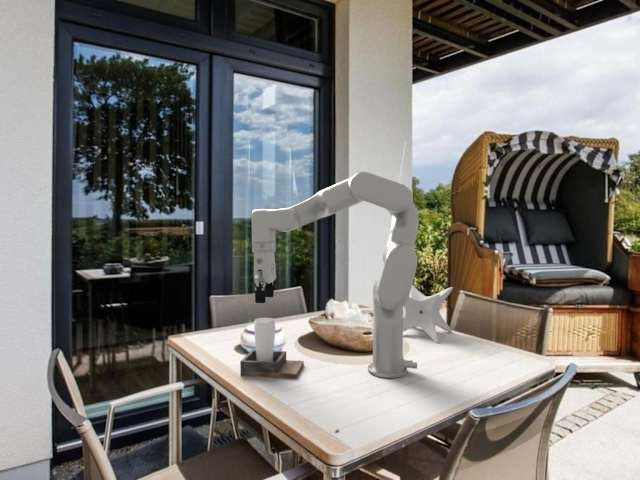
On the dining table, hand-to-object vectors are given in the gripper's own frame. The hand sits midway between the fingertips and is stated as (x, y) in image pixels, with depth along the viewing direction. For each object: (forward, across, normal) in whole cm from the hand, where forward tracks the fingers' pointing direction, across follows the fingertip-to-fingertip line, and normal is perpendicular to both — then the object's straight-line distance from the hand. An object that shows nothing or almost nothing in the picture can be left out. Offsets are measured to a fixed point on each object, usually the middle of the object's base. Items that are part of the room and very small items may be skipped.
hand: (264, 299), depth 138 cm
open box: (+23, 0, -2) cm, 23 cm away
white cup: (+22, 0, 0) cm, 22 cm away
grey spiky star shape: (+24, +52, -54) cm, 79 cm away
